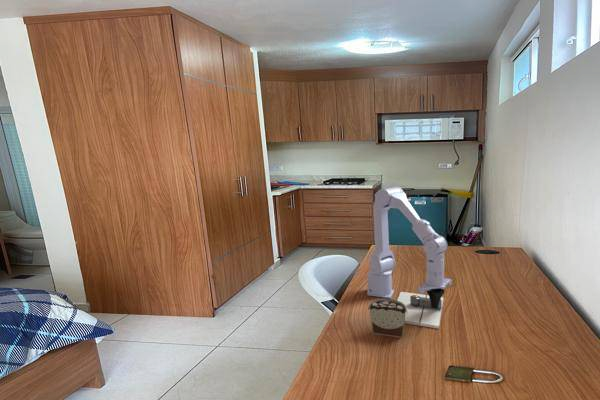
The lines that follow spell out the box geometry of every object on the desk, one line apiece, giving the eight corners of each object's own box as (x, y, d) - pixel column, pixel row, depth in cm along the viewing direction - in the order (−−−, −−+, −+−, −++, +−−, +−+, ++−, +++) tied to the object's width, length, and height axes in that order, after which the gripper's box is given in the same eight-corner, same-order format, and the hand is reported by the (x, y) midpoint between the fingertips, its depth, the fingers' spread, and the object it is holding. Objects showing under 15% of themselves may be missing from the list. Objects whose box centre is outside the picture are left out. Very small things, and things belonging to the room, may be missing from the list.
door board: (389, 320, 125) (389, 311, 124) (400, 294, 146) (400, 286, 146) (438, 328, 118) (439, 319, 118) (443, 299, 140) (443, 291, 139)
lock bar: (409, 305, 132) (409, 297, 132) (410, 301, 136) (410, 293, 135) (441, 309, 128) (441, 300, 128) (441, 305, 132) (441, 296, 131)
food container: (408, 328, 119) (408, 300, 117) (407, 338, 113) (407, 308, 112) (370, 324, 123) (370, 296, 122) (368, 333, 117) (367, 304, 116)
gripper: (428, 278, 120) (428, 317, 122) (459, 270, 126) (458, 307, 128) (413, 272, 126) (413, 309, 128) (442, 265, 133) (442, 300, 135)
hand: (434, 307), depth 129 cm, fingers closed, pressing on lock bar
